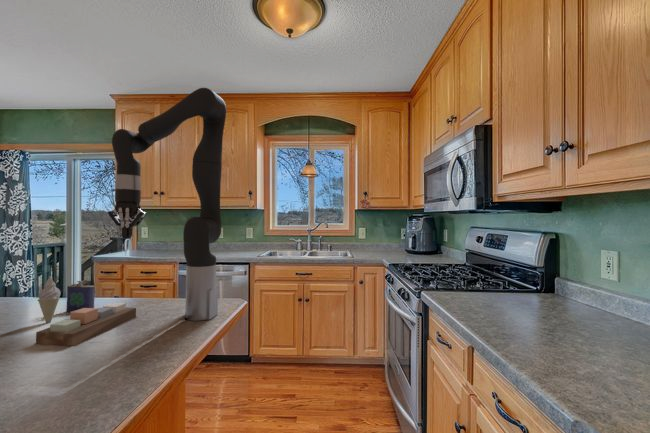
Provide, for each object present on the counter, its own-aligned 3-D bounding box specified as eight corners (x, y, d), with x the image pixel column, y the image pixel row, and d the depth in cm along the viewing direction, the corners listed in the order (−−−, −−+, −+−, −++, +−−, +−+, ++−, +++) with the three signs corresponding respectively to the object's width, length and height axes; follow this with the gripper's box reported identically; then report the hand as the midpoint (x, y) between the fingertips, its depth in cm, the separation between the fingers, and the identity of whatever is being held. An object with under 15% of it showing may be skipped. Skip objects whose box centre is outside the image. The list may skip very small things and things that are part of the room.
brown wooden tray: (137, 320, 98) (138, 307, 98) (74, 350, 75) (75, 334, 75) (105, 319, 99) (105, 306, 99) (33, 348, 76) (33, 332, 76)
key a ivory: (125, 312, 97) (126, 303, 97) (115, 316, 93) (116, 306, 93) (113, 312, 98) (113, 302, 98) (102, 316, 93) (102, 306, 93)
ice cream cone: (63, 324, 94) (64, 274, 94) (43, 329, 89) (45, 277, 89) (52, 322, 95) (54, 273, 95) (32, 327, 90) (34, 276, 91)
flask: (96, 311, 107) (96, 280, 107) (89, 313, 104) (89, 281, 105) (70, 310, 108) (71, 279, 108) (63, 312, 105) (63, 281, 105)
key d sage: (80, 331, 81) (80, 319, 81) (65, 337, 77) (65, 325, 77) (65, 330, 81) (65, 319, 81) (50, 336, 77) (50, 324, 77)
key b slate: (112, 318, 92) (112, 308, 92) (101, 322, 88) (101, 312, 88) (99, 317, 92) (99, 307, 92) (87, 322, 88) (87, 311, 88)
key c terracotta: (97, 319, 86) (97, 308, 86) (84, 324, 82) (85, 312, 82) (83, 318, 87) (83, 307, 87) (70, 323, 82) (70, 312, 83)
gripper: (153, 190, 111) (151, 238, 111) (117, 189, 112) (116, 237, 111) (139, 188, 103) (138, 239, 103) (101, 187, 104) (100, 238, 104)
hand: (126, 238), depth 107 cm, fingers closed
